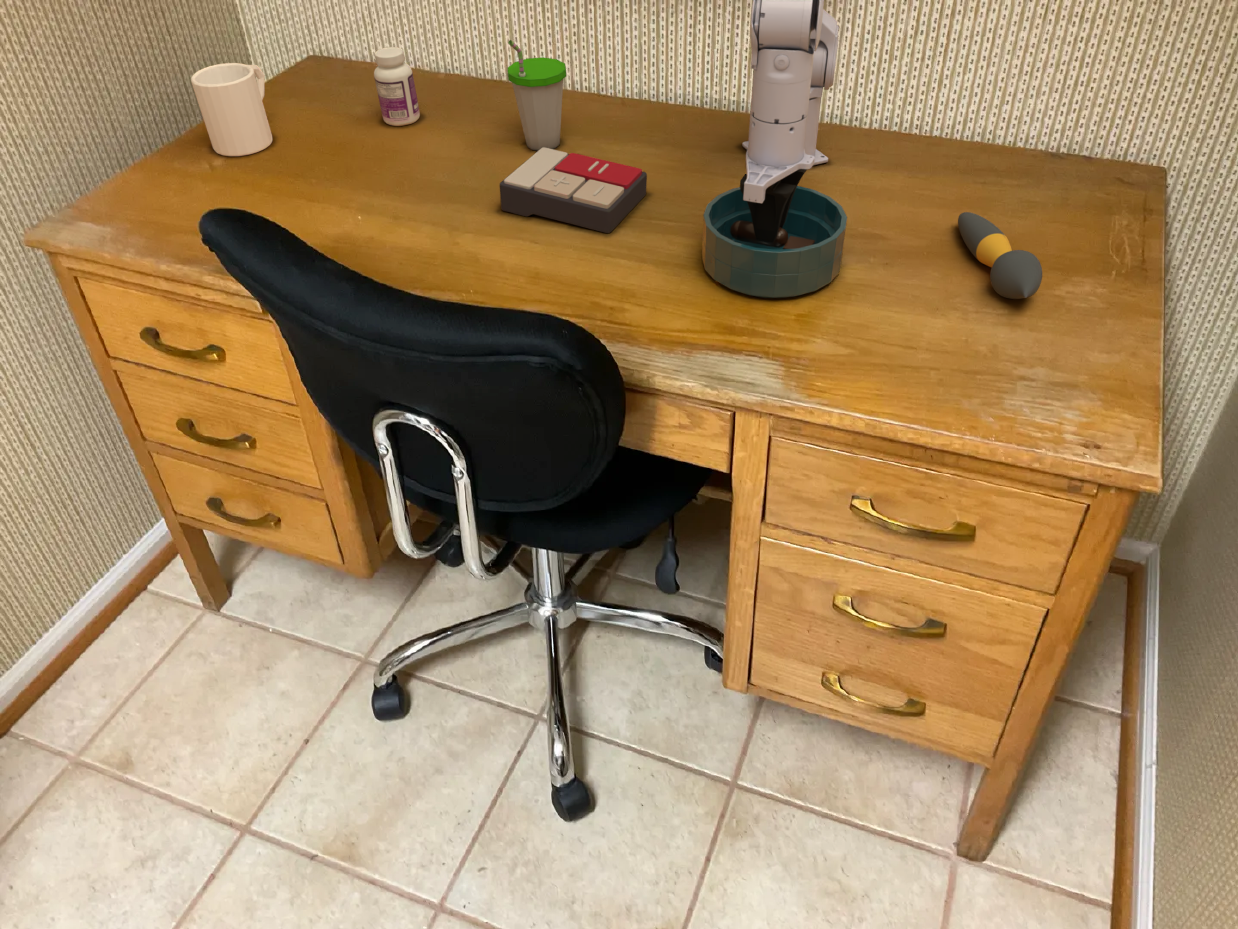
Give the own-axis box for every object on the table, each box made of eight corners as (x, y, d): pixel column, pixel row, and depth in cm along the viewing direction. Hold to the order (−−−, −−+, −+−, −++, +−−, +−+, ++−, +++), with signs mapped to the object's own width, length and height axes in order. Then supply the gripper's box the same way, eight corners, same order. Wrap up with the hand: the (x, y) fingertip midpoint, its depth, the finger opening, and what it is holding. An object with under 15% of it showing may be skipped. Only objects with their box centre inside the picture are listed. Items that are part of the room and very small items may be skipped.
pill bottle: (402, 108, 144) (389, 41, 138) (427, 116, 142) (416, 48, 135) (375, 121, 141) (361, 53, 134) (401, 129, 138) (388, 61, 132)
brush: (726, 243, 108) (726, 225, 107) (734, 231, 110) (735, 213, 109) (807, 258, 105) (809, 240, 104) (814, 246, 107) (816, 228, 106)
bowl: (680, 247, 112) (681, 199, 108) (796, 220, 116) (801, 172, 112) (741, 315, 101) (744, 264, 97) (866, 282, 105) (874, 232, 101)
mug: (299, 124, 141) (281, 55, 134) (250, 159, 133) (229, 87, 126) (252, 118, 143) (232, 50, 136) (201, 152, 135) (178, 81, 128)
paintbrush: (929, 228, 113) (937, 188, 110) (969, 223, 114) (979, 184, 111) (1008, 322, 99) (1021, 280, 96) (1054, 316, 100) (1068, 274, 96)
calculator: (609, 205, 112) (497, 177, 117) (609, 238, 115) (499, 210, 120) (648, 166, 119) (541, 141, 124) (647, 198, 122) (542, 172, 127)
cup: (562, 128, 137) (554, 17, 127) (578, 150, 132) (571, 36, 122) (509, 137, 136) (496, 25, 125) (522, 160, 130) (510, 45, 120)
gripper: (797, 147, 92) (784, 272, 101) (836, 90, 101) (822, 209, 110) (726, 136, 94) (720, 260, 103) (771, 82, 104) (762, 199, 113)
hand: (769, 233), depth 107 cm, fingers closed on brush, 2 cm apart
